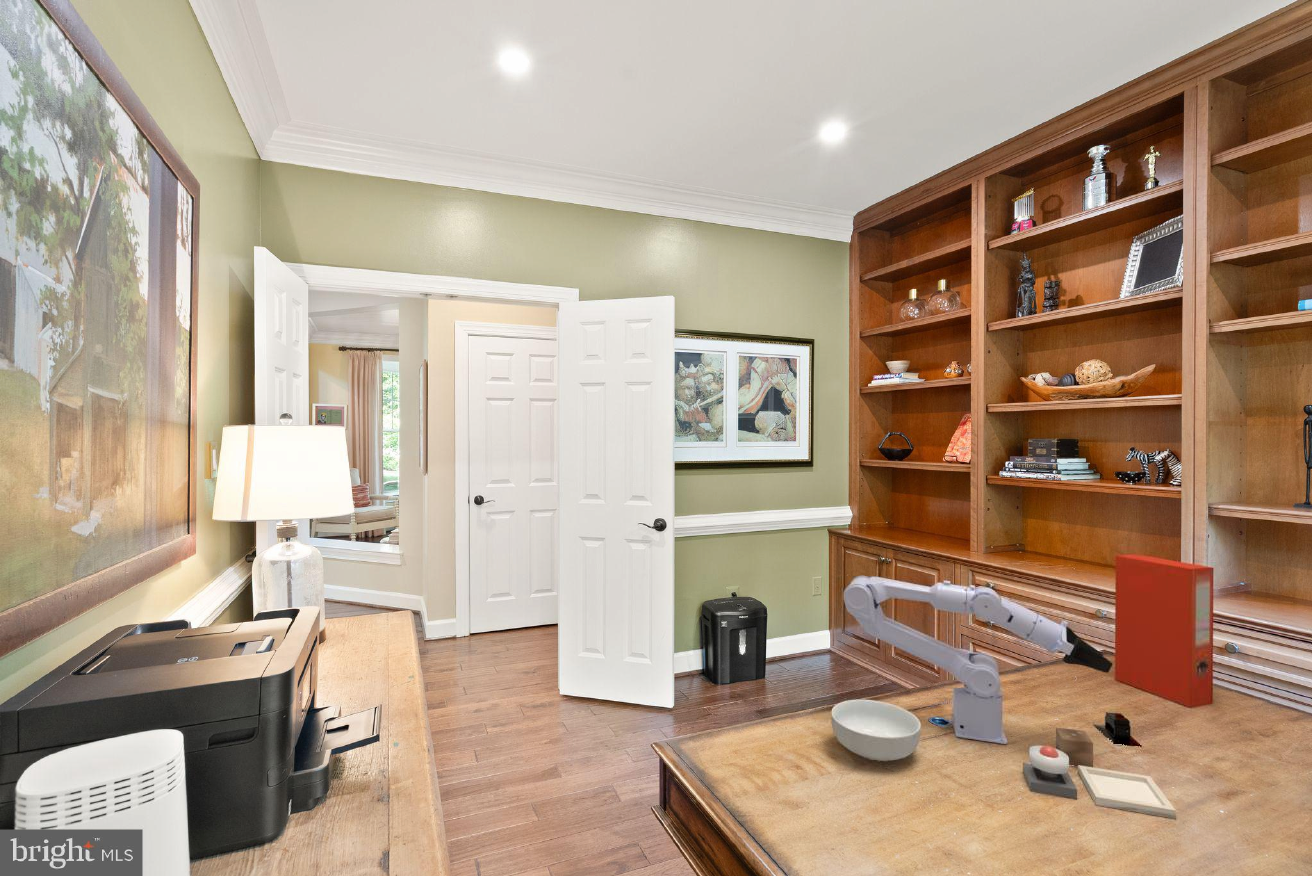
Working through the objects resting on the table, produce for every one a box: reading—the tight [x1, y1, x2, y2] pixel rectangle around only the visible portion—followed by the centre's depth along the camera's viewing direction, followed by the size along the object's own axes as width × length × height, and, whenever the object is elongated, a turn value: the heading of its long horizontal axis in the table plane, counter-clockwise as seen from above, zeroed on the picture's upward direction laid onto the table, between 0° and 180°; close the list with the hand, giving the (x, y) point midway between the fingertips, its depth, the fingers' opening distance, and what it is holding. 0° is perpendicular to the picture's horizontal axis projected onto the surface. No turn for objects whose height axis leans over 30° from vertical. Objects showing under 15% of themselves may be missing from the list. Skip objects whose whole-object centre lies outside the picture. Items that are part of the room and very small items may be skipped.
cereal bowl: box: [830, 699, 922, 762], centre depth 124 cm, size 17×17×7 cm
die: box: [1055, 726, 1094, 768], centre depth 121 cm, size 5×5×5 cm
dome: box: [1029, 745, 1070, 778], centre depth 113 cm, size 6×6×5 cm
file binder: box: [1114, 553, 1215, 708], centre depth 154 cm, size 8×17×32 cm, turn 17°
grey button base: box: [1022, 762, 1078, 800], centre depth 113 cm, size 7×7×2 cm
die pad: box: [1077, 765, 1177, 820], centre depth 109 cm, size 11×11×1 cm
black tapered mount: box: [1092, 711, 1143, 748], centre depth 131 cm, size 12×7×5 cm, turn 167°
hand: (1105, 663), depth 122 cm, fingers open, 7 cm apart
